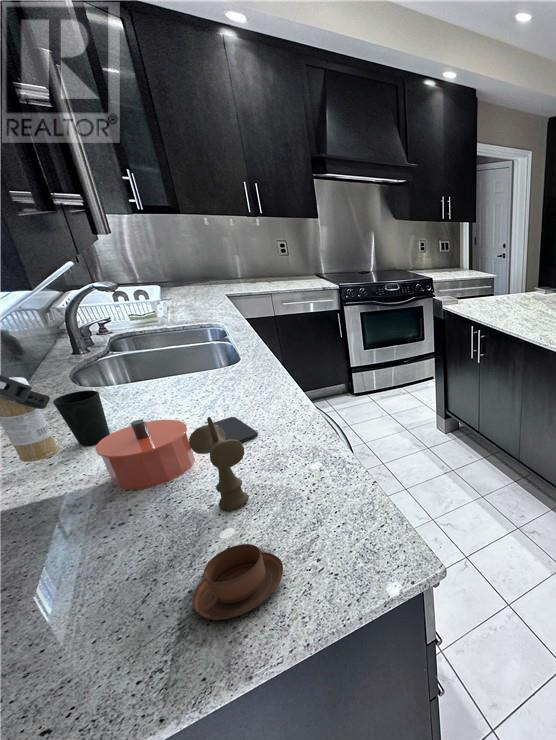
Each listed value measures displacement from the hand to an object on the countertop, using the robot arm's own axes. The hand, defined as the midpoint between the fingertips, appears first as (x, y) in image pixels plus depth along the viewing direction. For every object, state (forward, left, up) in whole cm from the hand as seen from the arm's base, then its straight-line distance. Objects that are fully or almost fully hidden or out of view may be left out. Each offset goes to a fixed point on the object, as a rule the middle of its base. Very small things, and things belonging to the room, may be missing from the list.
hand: (30, 401), depth 65 cm
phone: (+21, +26, -26) cm, 42 cm away
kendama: (+23, -6, -26) cm, 35 cm away
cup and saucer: (+25, -30, -26) cm, 47 cm away
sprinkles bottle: (-1, -2, -9) cm, 9 cm away
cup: (-8, +36, -26) cm, 45 cm away
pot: (+8, +12, -25) cm, 29 cm away
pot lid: (+8, +12, -16) cm, 22 cm away
